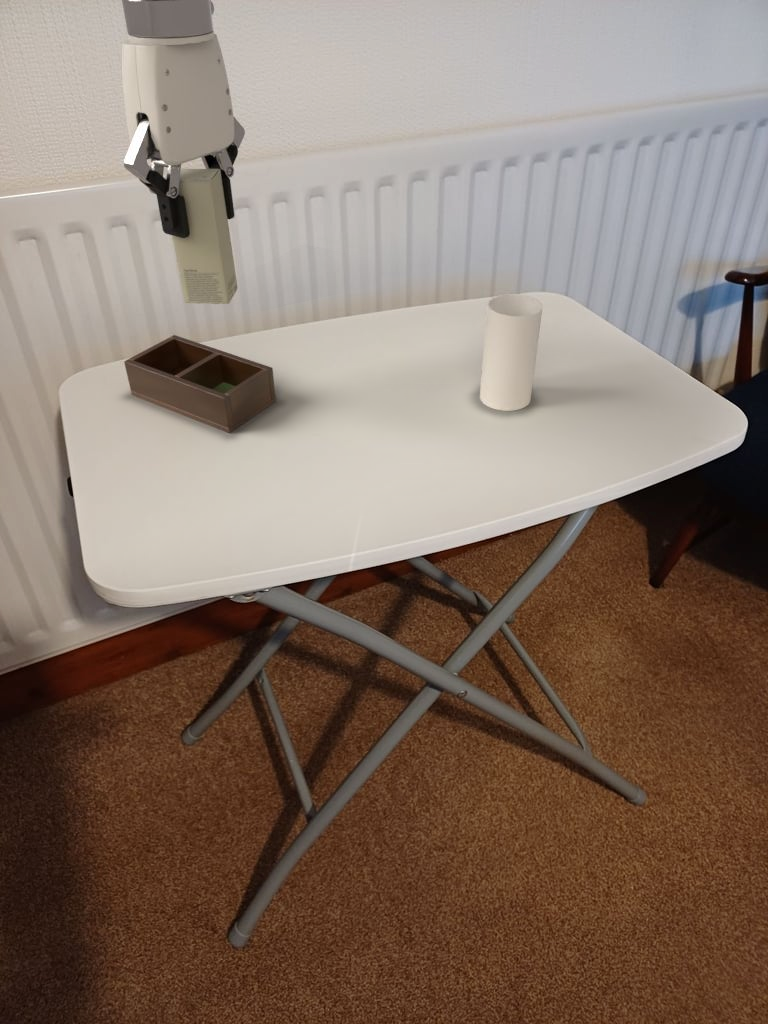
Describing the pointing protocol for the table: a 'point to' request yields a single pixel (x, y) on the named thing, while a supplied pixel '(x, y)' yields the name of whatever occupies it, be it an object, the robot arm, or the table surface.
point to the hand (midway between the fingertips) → (199, 223)
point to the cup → (510, 351)
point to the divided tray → (201, 382)
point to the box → (205, 240)
